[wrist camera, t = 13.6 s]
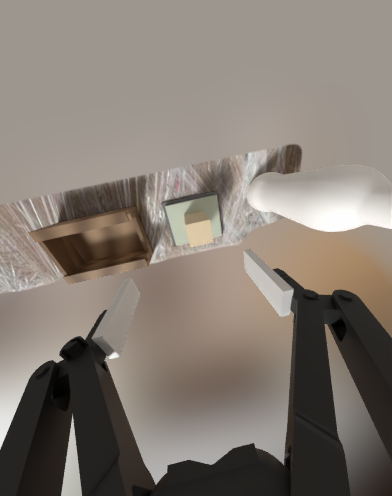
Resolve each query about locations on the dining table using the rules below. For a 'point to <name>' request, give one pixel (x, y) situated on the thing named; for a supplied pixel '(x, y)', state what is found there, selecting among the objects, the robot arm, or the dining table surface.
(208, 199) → the lid
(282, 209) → the bottle
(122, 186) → the dining table surface
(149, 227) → the dining table surface
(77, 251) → the walnut box
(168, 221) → the mat
